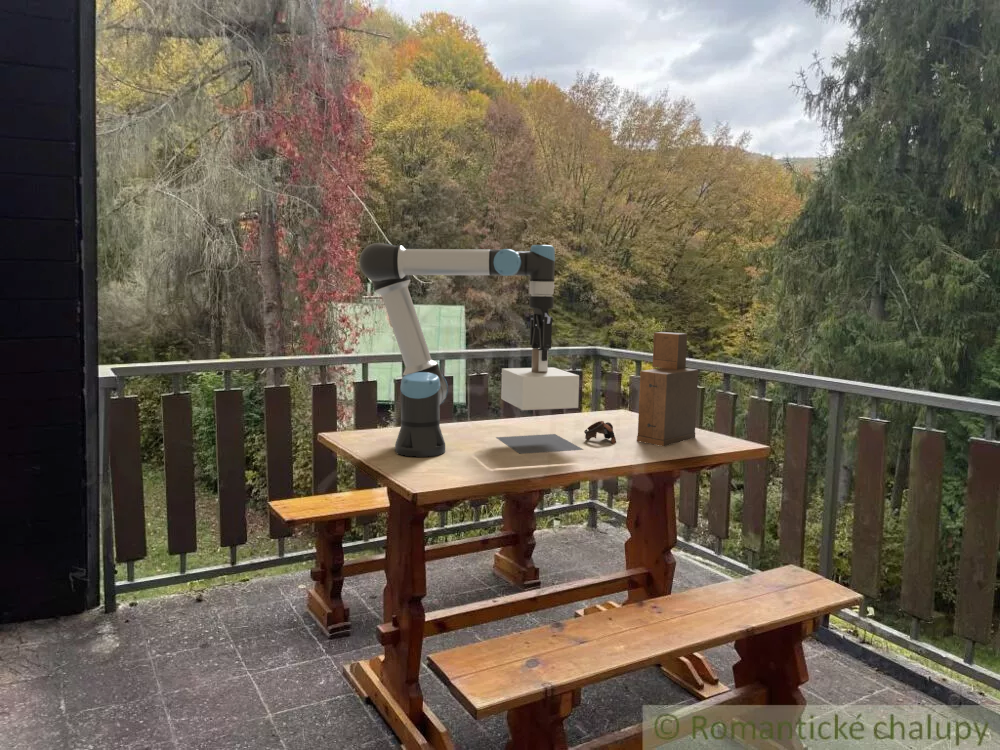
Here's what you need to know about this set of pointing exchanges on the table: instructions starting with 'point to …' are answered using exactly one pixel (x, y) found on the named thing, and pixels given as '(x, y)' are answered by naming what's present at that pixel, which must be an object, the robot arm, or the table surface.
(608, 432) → the brown curved piece
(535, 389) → the cover
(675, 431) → the wooden block stack
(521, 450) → the mat
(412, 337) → the robot arm
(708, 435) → the table surface
